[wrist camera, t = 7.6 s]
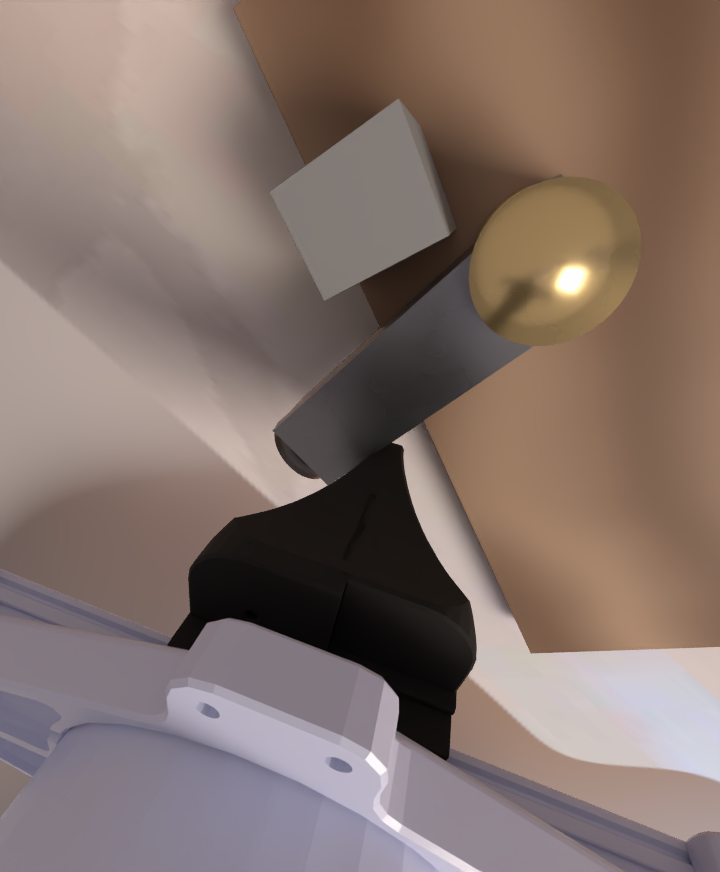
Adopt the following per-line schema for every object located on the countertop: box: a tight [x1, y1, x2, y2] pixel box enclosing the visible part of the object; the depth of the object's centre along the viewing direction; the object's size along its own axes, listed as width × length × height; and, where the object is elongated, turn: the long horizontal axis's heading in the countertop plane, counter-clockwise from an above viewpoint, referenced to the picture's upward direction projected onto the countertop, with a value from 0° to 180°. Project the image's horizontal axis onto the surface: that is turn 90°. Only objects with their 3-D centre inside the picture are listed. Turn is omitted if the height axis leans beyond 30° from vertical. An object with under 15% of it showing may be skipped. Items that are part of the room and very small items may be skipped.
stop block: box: [270, 99, 457, 301], centre depth 9 cm, size 3×2×3 cm
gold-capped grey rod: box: [273, 174, 641, 485], centre depth 11 cm, size 10×3×3 cm, turn 134°
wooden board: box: [234, 0, 720, 653], centre depth 11 cm, size 14×24×2 cm, turn 27°
